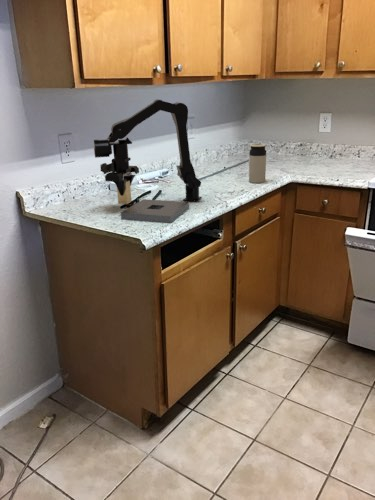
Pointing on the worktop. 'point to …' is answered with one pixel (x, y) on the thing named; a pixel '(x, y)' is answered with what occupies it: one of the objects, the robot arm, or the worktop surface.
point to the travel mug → (257, 163)
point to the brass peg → (125, 194)
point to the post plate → (155, 210)
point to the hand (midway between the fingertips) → (124, 194)
